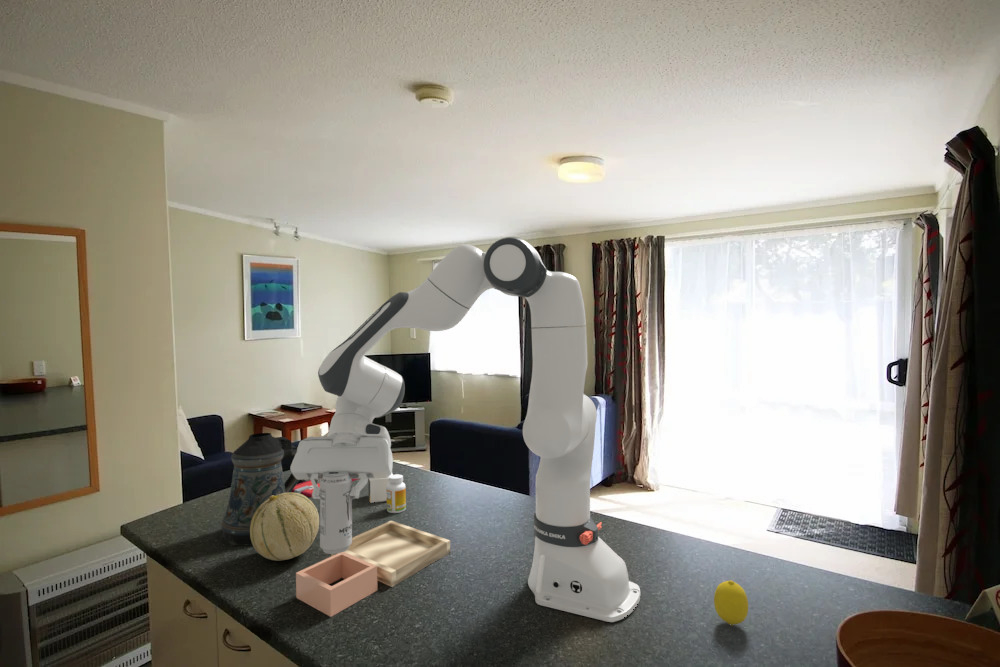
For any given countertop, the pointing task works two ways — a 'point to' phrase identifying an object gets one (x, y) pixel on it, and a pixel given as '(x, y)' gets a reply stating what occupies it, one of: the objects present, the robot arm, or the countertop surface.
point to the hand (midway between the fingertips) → (335, 497)
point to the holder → (343, 594)
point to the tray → (398, 550)
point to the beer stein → (255, 482)
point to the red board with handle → (306, 487)
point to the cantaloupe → (284, 526)
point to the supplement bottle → (396, 494)
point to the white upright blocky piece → (378, 489)
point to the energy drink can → (335, 512)
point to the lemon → (731, 602)
